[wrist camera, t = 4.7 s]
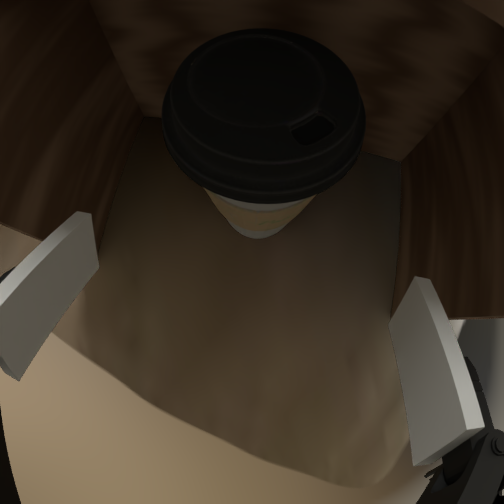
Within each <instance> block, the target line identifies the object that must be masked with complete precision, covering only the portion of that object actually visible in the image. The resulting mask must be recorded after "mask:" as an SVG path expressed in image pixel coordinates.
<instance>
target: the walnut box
mask: <svg viewBox="0 0 504 504" xmlns="http://www.w3.org/2000/svg"><path fill="white" fill-rule="evenodd" d="M253 28H269V29H279V30H285V31H289V32H293V33H297V34H300V35H303V36H306V37H308V38H310V39H313V40H315V41H317V42H319V43H320V44H322V45H324V46H325V47H327V48H328V49H330V50H331V51H332V52H334V53H335V54H336V55H337V56H338V57H339V58H340V59H341V60H342V61H343V62H344V63H345V64H346V65H347V67H348V68H349V70H350V71H351V73H352V74H353V76H354V78H355V80H356V83H357V85H358V89H359V93H360V95H361V98H362V100H363V104H364V107H365V113H366V131H365V136H364V139H363V144H362V148H361V151H364V152H368V153H371V154H375V155H378V156H382V157H385V158H389V159H392V160H395V161H399V162H401V208H400V231H399V247H398V259H397V270H396V280H395V288H394V296H393V304H392V311H391V318H392V317H393V315H394V313H395V312H396V310H397V308H398V306H399V305H400V303H401V301H402V299H403V297H404V296H405V294H406V292H407V290H408V288H409V286H410V284H411V282H412V281H413V279H414V277H415V276H417V277H422V278H427V279H430V280H431V282H432V285H433V287H434V289H435V291H436V293H437V295H438V297H439V299H440V302H441V304H442V306H443V308H444V311H445V313H446V315H447V318H448V320H458V319H490V318H491V319H494V318H504V0H0V224H2V225H4V226H7V227H9V228H11V229H14V230H16V231H18V232H21V233H23V234H26V235H28V236H30V237H33V238H35V239H38V240H40V241H44V240H45V239H46V238H47V237H48V236H49V235H50V234H51V233H52V232H54V231H55V230H56V229H57V228H58V227H59V226H60V225H61V224H63V223H64V222H65V221H66V220H67V219H68V218H70V217H71V216H72V215H73V214H74V213H76V212H77V211H79V212H84V213H90V214H91V216H92V224H93V231H94V238H95V244H96V251H97V256H98V251H99V248H100V244H101V240H102V236H103V232H104V229H105V225H106V222H107V218H108V215H109V211H110V208H111V205H112V202H113V198H114V195H115V192H116V189H117V186H118V183H119V180H120V177H121V174H122V171H123V169H124V166H125V163H126V160H127V158H128V155H129V152H130V150H131V147H132V144H133V142H134V139H135V137H136V134H137V132H138V129H139V127H140V125H141V122H142V120H143V117H144V116H146V117H161V113H162V104H163V100H164V96H165V93H166V91H167V89H168V87H169V85H170V83H171V81H172V80H173V78H174V75H175V73H176V71H177V69H178V67H179V66H180V64H181V63H182V62H183V60H184V59H185V58H186V57H187V56H188V55H189V54H190V53H191V52H192V51H193V50H195V49H196V48H197V47H199V46H200V45H202V44H203V43H205V42H207V41H209V40H211V39H213V38H215V37H217V36H220V35H223V34H226V33H229V32H233V31H238V30H244V29H253Z"/></svg>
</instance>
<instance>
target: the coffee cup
mask: <svg viewBox="0 0 504 504" xmlns="http://www.w3.org/2000/svg"><path fill="white" fill-rule="evenodd" d="M161 117H162V129H163V136H164V140H165V143H166V146H167V149H168V151H169V153H170V155H171V157H172V158H173V160H174V161H175V163H176V164H177V165H178V167H179V168H180V169H181V170H182V171H183V172H184V173H185V174H186V175H187V176H188V177H189V178H191V179H192V180H193V181H195V182H196V183H197V184H199V185H200V186H202V187H203V188H204V189H205V191H206V192H207V194H208V195H209V197H210V198H211V200H212V201H213V203H214V204H215V206H216V207H217V209H218V210H219V212H220V213H221V214H222V215H223V216H224V217H225V218H226V219H227V221H228V222H229V223H230V225H231V226H232V227H233V228H234V229H235V230H236V231H238V232H239V233H240V234H242V235H244V236H246V237H249V238H254V239H262V238H266V237H269V236H272V235H274V234H276V233H277V232H279V231H280V230H281V229H282V228H283V227H285V226H286V225H287V223H288V222H290V221H291V220H293V219H294V218H295V217H296V216H297V215H298V214H299V213H300V212H301V211H302V210H303V209H304V208H305V207H306V206H307V205H308V204H309V203H310V201H311V200H312V199H313V198H314V197H315V196H316V195H317V194H319V193H321V192H323V191H324V190H326V189H328V188H330V187H331V186H333V185H334V184H335V183H337V182H338V181H339V180H340V179H342V178H343V177H344V176H345V175H346V174H347V172H348V171H349V170H350V169H351V168H352V166H353V165H354V163H355V161H356V160H357V158H358V156H359V153H360V151H361V148H362V144H363V139H364V136H365V131H366V113H365V107H364V104H363V100H362V98H361V95H360V93H359V89H358V85H357V83H356V80H355V78H354V76H353V74H352V73H351V71H350V70H349V68H348V67H347V65H346V64H345V63H344V62H343V61H342V60H341V59H340V58H339V57H338V56H337V55H336V54H335V53H334V52H332V51H331V50H330V49H328V48H327V47H325V46H324V45H322V44H320V43H319V42H317V41H315V40H313V39H310V38H308V37H306V36H303V35H300V34H297V33H293V32H289V31H285V30H279V29H269V28H253V29H244V30H238V31H233V32H229V33H226V34H223V35H220V36H217V37H215V38H213V39H211V40H209V41H207V42H205V43H203V44H202V45H200V46H199V47H197V48H196V49H195V50H193V51H192V52H191V53H190V54H189V55H188V56H187V57H186V58H185V59H184V60H183V62H182V63H181V64H180V66H179V67H178V69H177V71H176V73H175V75H174V78H173V80H172V81H171V83H170V85H169V87H168V89H167V91H166V93H165V96H164V100H163V104H162V113H161Z"/></svg>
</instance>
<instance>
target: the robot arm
mask: <svg viewBox="0 0 504 504" xmlns="http://www.w3.org/2000/svg"><path fill="white" fill-rule="evenodd" d="M99 268H100V267H99V262H98V256H97V251H96V244H95V238H94V231H93V224H92V216H91V214H90V213H84V212H79V211H77V212H76V213H74V214H73V215H72V216H71V217H70V218H68V219H67V220H66V221H65V222H64V223H63V224H61V225H60V226H59V227H58V228H57V229H56V230H55V231H54V232H52V233H51V234H50V235H49V236H48V237H47V238H46V239H45V240H44V241H43V242H41V243H40V244H39V245H38V246H37V247H36V248H35V249H34V250H33V251H32V252H31V253H30V254H29V255H28V256H27V257H26V258H25V259H24V260H23V261H22V262H21V263H20V264H19V265H18V266H17V267H14V268H12V269H11V270H9V271H7V272H6V273H4V274H3V275H2V276H1V277H0V366H1V368H2V369H3V371H4V372H5V373H6V374H8V375H9V376H11V377H12V378H14V379H16V380H17V381H20V379H21V377H22V376H23V374H24V373H25V371H26V369H27V368H28V366H29V365H30V363H31V361H32V360H33V358H34V357H35V355H36V354H37V352H38V351H39V349H40V347H41V346H42V345H43V343H44V342H45V340H46V339H47V337H48V336H49V334H50V333H51V331H52V330H53V329H54V327H55V326H56V324H57V323H58V321H59V320H60V319H61V317H62V316H63V315H64V313H65V312H66V310H67V309H68V308H69V306H70V305H71V304H72V302H73V301H74V300H75V298H76V297H77V296H78V294H79V293H80V292H81V290H82V289H83V288H84V286H85V285H86V284H87V283H88V281H89V280H90V279H91V278H92V276H93V275H94V274H95V272H96V271H97V270H98V269H99ZM388 327H389V331H390V335H391V340H392V344H393V348H394V353H395V357H396V362H397V366H398V371H399V376H400V381H401V387H402V392H403V397H404V403H405V409H406V415H407V422H408V429H409V436H410V443H411V451H412V460H413V466H419V465H427V464H432V463H433V462H435V461H437V460H438V459H440V458H441V457H442V461H443V464H441V465H440V466H438V467H436V468H434V469H433V470H431V471H429V472H428V473H427V474H426V475H425V476H424V477H426V478H427V477H429V476H430V475H432V474H434V475H433V477H432V478H431V479H429V480H430V482H429V484H428V485H427V487H426V489H425V491H424V492H423V494H422V495H421V497H420V498H419V500H418V501H417V503H416V504H504V496H502V490H503V489H504V432H503V431H501V430H498V429H494V426H493V423H492V420H491V416H490V413H489V409H488V406H487V402H486V399H485V396H484V393H483V392H482V390H483V389H482V386H481V384H480V383H479V378H478V375H477V372H476V369H475V367H474V366H473V364H472V363H471V361H470V360H469V359H468V357H463V355H462V352H461V350H460V347H459V344H458V342H457V339H456V337H455V334H454V332H453V329H452V327H451V325H450V322H449V320H448V318H447V315H446V313H445V311H444V308H443V306H442V304H441V302H440V299H439V297H438V295H437V293H436V291H435V289H434V287H433V285H432V282H431V280H430V279H427V278H422V277H417V276H415V277H414V279H413V281H412V282H411V284H410V286H409V288H408V290H407V292H406V294H405V296H404V297H403V299H402V301H401V303H400V305H399V306H398V308H397V310H396V312H395V313H394V315H393V317H392V318H391V320H390V322H389V323H388ZM0 504H21V501H20V498H19V495H18V492H17V488H16V485H15V481H14V478H13V474H12V470H11V466H10V461H9V457H8V452H7V447H6V442H5V436H4V430H3V423H2V416H1V408H0Z"/></svg>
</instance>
